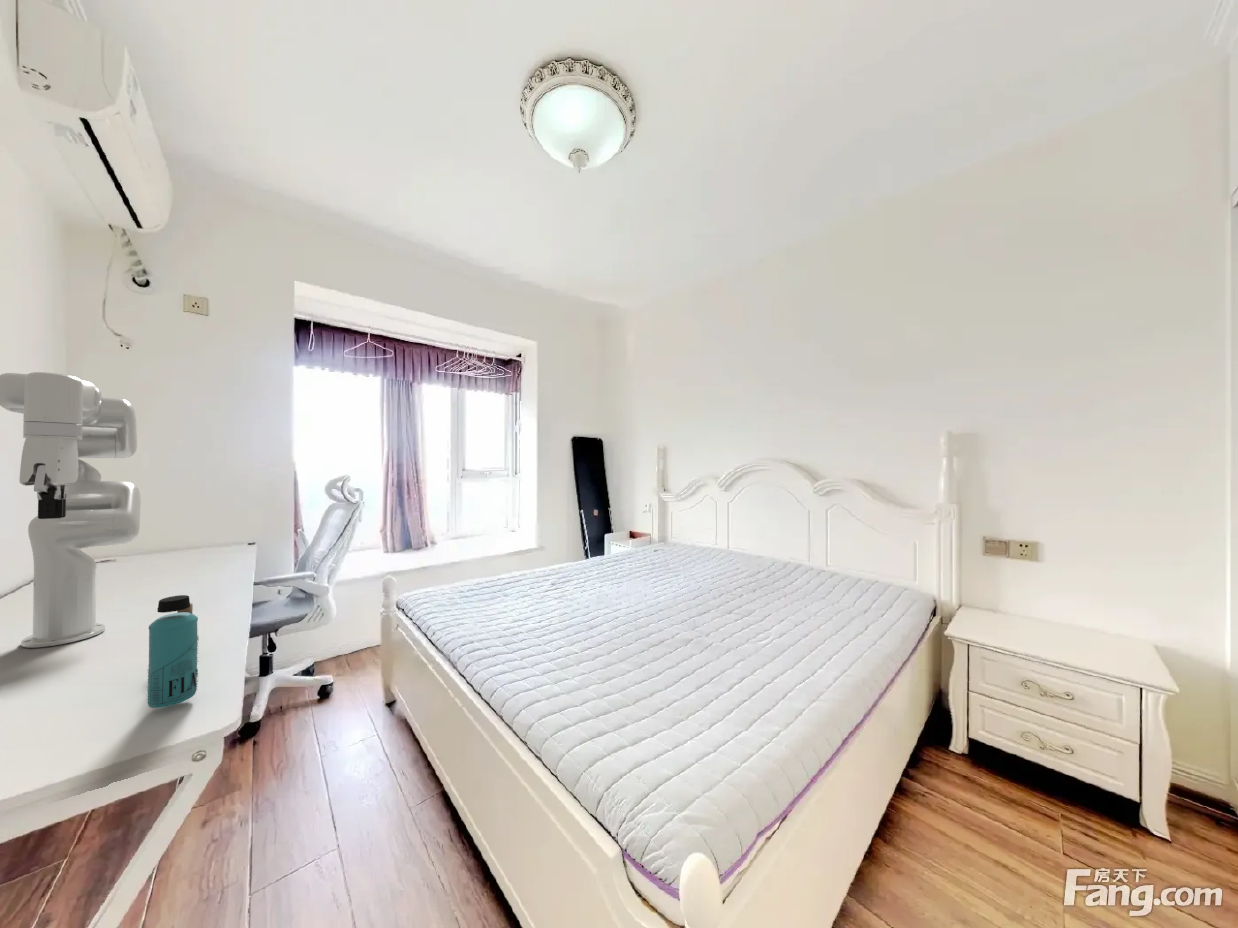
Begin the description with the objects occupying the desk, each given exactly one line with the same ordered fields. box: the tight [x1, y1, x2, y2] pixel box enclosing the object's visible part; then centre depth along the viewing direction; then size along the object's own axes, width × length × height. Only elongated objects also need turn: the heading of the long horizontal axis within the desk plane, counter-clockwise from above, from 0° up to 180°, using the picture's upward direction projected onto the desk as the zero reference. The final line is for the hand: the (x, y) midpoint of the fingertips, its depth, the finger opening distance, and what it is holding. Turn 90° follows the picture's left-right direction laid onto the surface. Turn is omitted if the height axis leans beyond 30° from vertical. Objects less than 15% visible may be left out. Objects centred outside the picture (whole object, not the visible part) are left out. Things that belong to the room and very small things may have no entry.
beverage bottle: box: [146, 594, 200, 709], centre depth 77 cm, size 6×7×20 cm
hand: (51, 517), depth 90 cm, fingers closed
